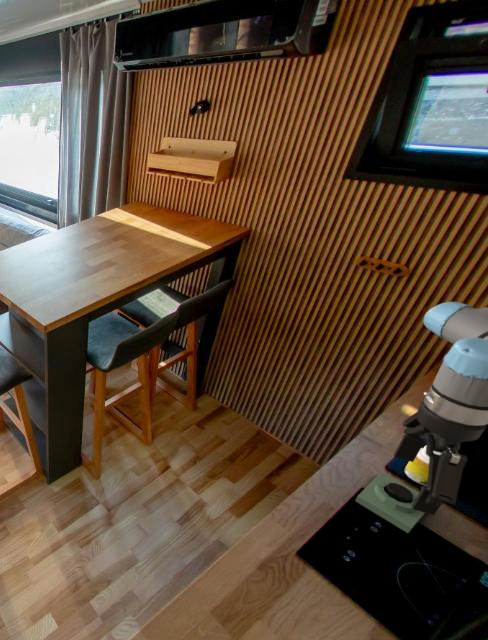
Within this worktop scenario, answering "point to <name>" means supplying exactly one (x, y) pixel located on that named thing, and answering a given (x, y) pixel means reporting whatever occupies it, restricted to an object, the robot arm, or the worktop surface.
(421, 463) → the supplement bottle
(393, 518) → the button box
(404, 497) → the button
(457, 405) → the robot arm
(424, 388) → the worktop surface
